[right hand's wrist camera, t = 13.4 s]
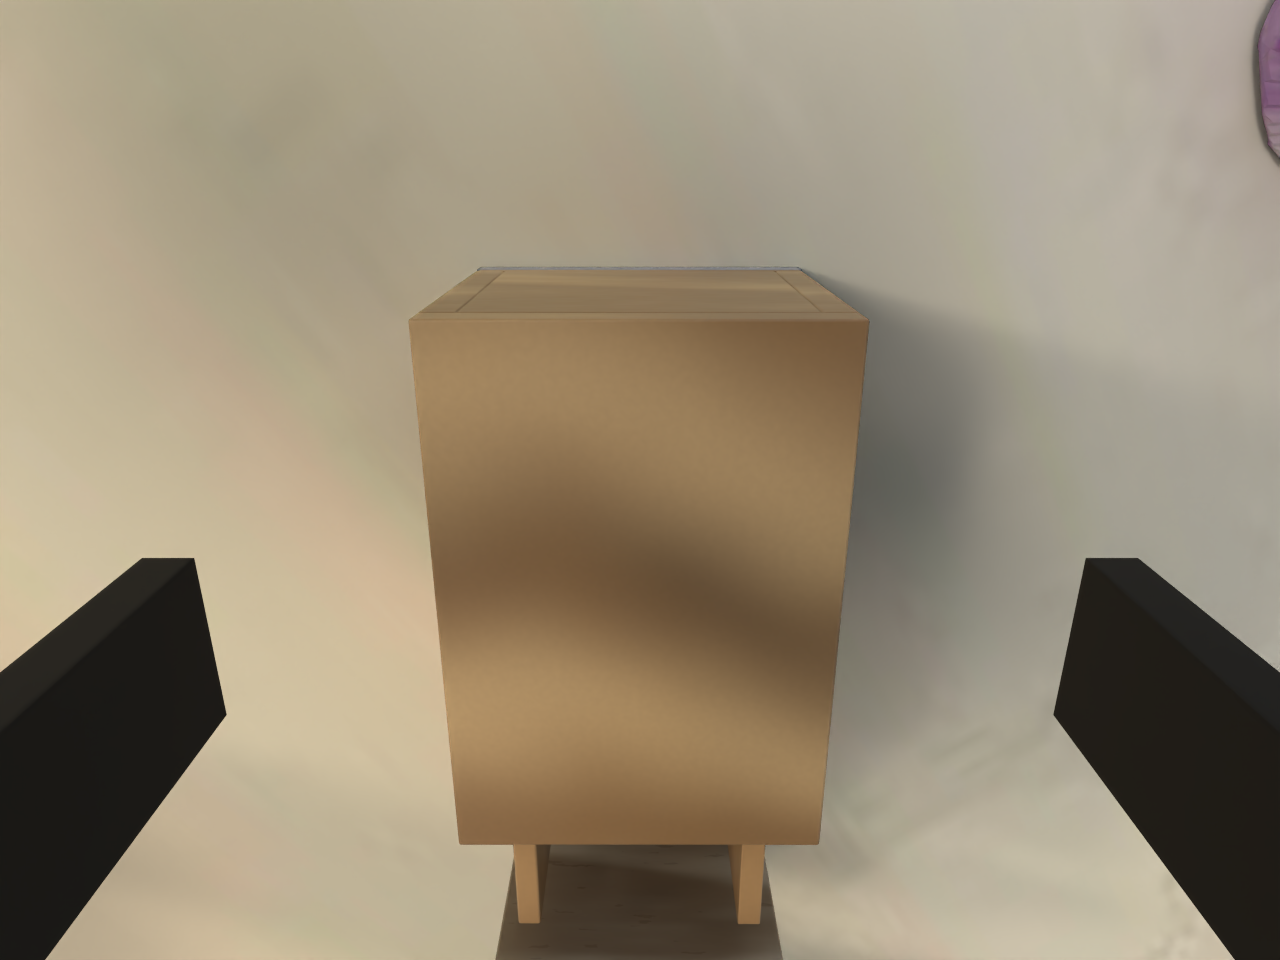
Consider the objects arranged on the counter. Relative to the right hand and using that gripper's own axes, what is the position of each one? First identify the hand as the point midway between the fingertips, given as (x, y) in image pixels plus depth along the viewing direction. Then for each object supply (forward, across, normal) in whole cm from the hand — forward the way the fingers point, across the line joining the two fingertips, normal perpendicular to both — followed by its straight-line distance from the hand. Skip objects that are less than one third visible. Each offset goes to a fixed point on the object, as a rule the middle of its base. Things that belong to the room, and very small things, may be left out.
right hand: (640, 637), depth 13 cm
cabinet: (+21, 0, -6) cm, 21 cm away
